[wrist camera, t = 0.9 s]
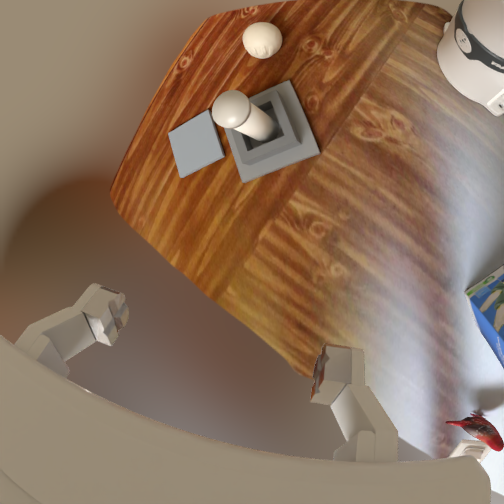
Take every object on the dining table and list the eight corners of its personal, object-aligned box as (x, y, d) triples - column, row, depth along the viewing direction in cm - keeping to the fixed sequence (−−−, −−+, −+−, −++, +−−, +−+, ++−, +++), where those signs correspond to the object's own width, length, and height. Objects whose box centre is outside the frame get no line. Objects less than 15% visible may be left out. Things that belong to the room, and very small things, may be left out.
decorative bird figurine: (492, 426, 35) (501, 456, 26) (437, 407, 41) (442, 441, 32) (500, 416, 35) (511, 446, 26) (445, 396, 40) (453, 430, 31)
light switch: (498, 449, 32) (467, 485, 35) (494, 438, 36) (465, 474, 38) (464, 447, 36) (434, 483, 38) (461, 435, 40) (433, 472, 42)
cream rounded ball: (251, 66, 46) (234, 51, 40) (253, 36, 44) (237, 19, 38) (286, 62, 43) (273, 46, 37) (287, 31, 42) (274, 13, 36)
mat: (210, 110, 50) (208, 109, 49) (225, 156, 50) (223, 155, 50) (170, 134, 54) (168, 133, 54) (182, 177, 55) (180, 177, 54)
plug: (274, 110, 45) (240, 83, 33) (285, 137, 45) (253, 116, 33) (247, 123, 47) (207, 101, 35) (257, 149, 47) (218, 133, 35)
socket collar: (290, 82, 43) (283, 73, 40) (320, 153, 44) (315, 149, 40) (221, 114, 49) (210, 109, 46) (245, 183, 50) (234, 181, 46)
